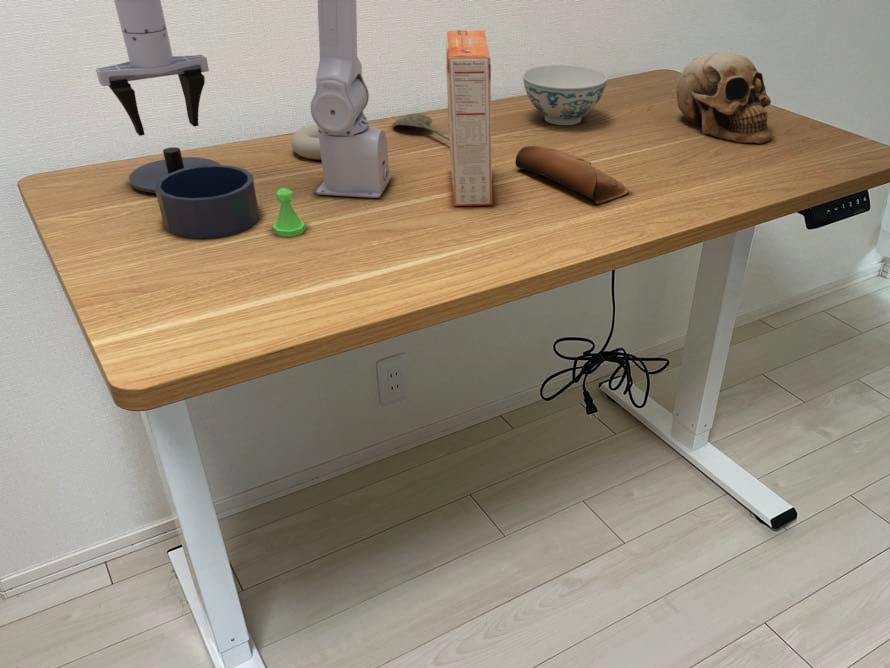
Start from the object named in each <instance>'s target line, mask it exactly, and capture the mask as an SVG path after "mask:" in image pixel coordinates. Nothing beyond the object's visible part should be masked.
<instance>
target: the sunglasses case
mask: <svg viewBox="0 0 890 668" xmlns="http://www.w3.org/2000/svg"><path fill="white" fill-rule="evenodd" d="M515 166H516V167H517V168H519V169H523V170H525V171H529V172H531V173H534V174H537V175H542V176H544V177H545V178H547V179H549V180H551V181H553V182H555V183H558V184H561V185H562V186H564V187H566V188H567V189H571V190H572V191H575V192H576V193H578V194H581V195H583V196H585V197H587V198H589V199H590V200H591V199H592V200H593V202H594V203H595V204H597V205H601V204H603V203H608V202H611V201H614V200H617V199H619V198H621V197H623V196H625V195H627V194H629V192H630V190H629V189H628V188H627V187H626V186H625V185H624V184H623V183H622V182H620V181H618V180H617V179H616V178H614V177H613V176H611V175H609V174H607V173H606V172H603V171H602V170H600V169H598V168H596V167H594V166H592V162H590V161H588V160H585V159H584V158H582V157H578V156H577V155H573V154H570V153H567V152H565V151H562V150H559V149H556V148H551V147H547V146H540V145H539V146H538V145H527V146H523V147H522V148H520V150H519V151H518V152H517V154H516V157H515Z"/></svg>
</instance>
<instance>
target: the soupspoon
mask: <svg viewBox="0 0 890 668" xmlns="http://www.w3.org/2000/svg"><path fill="white" fill-rule="evenodd" d="M432 123H433V119H432V118H431V117H429V116H427V115H426V114H421V113H409V114H404V115H402V116H401V117H399V118H397V119H396V120H395V121H394V122H393V123H392V126H393V127H394V126H408V127H416V128H420V129H424V130H427V131H430V132H433V133H435V134H437V135H439V136H440V137H442V138H444V139H446V140H448V141H450V139H449V134H446V133H444V132H442V131H441V130H440V129H437V128H435V127H432V126H431V125H432Z"/></svg>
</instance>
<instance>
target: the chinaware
mask: <svg viewBox="0 0 890 668" xmlns="http://www.w3.org/2000/svg"><path fill="white" fill-rule="evenodd" d="M522 81H523V86H524V90H525V92H526V95H527V97H528V99H529V101H530V102H531V104H532V105H533V107H534V108H535V109H536V110H537V111H538V112H539V113H541V114H542V115H543V116H544V120H545V122H547V123H549V124H553V125H557V126H572V125H577V124H579V123H581V121H582V118H583V117H584V116H585V115H587V114H588V113H590V112H591V111H592V110H593V109H594V108H595V107H596V106H597V105H598V103H599V101H601V98H602V96H603V95H604V93H605V90H606V86H607V83H608V82H607V81H608V76H607V74H606V73H604V72H603V71H601V70H599V69H597V68H593V67H588V66H583V65H578V64H577V65H576V64H546V65H538V66H533V67H531V68H529V69H527V70H525V71H524V72H523V74H522Z"/></svg>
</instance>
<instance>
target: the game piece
mask: <svg viewBox="0 0 890 668" xmlns="http://www.w3.org/2000/svg"><path fill="white" fill-rule="evenodd" d="M293 197H294V192H293V191H292V190H290V189H289V188H286V187H281V188H280V189H278V190H277V191H276V201H278V202H280V203H281V205H280V208H279V212H278V215H277V219H276V222H275V223H274V224H273V225H272V232H273V233H274V234H275V235H276V236H278V237H284V238H285V237H286V238H292V237H297V236H299V235H303V234H304V232H306V230H307V226H306V223H305V222H304V221H303V220H301V219H300V217H299V216H298V214H297V213H296V211H295V209H294V207H293V206H292V204H291V202H293V199H294V198H293Z"/></svg>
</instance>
